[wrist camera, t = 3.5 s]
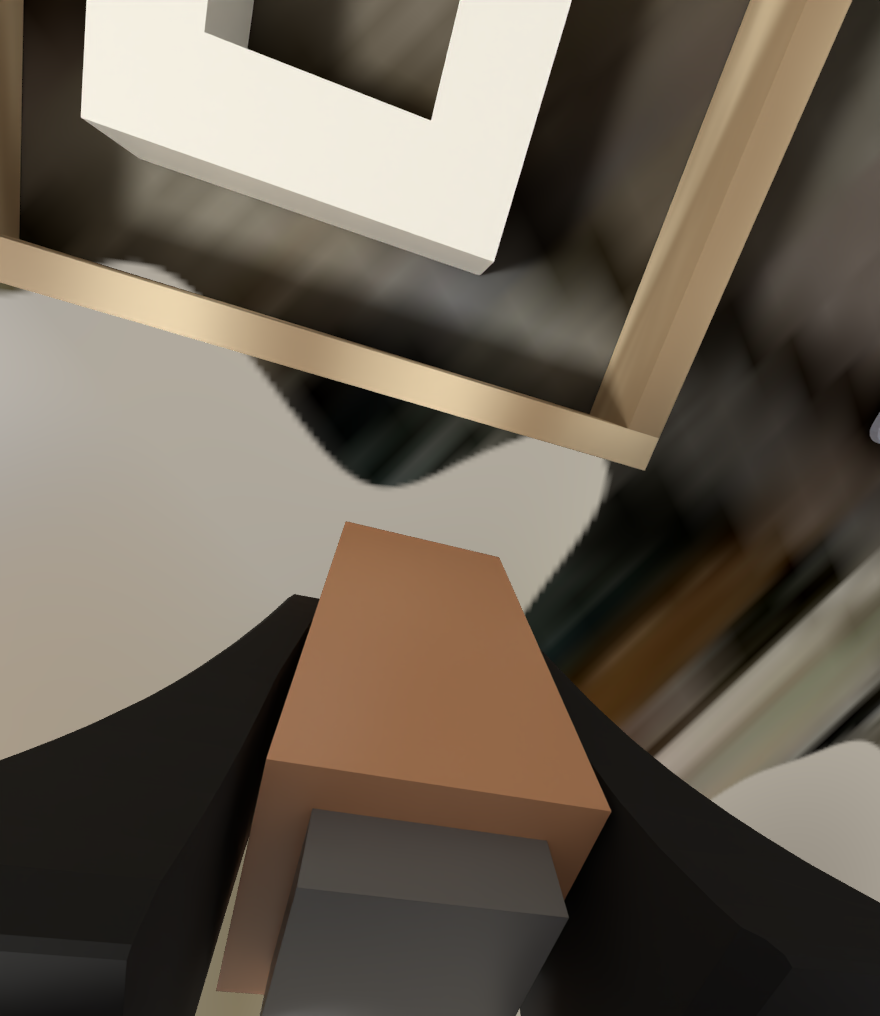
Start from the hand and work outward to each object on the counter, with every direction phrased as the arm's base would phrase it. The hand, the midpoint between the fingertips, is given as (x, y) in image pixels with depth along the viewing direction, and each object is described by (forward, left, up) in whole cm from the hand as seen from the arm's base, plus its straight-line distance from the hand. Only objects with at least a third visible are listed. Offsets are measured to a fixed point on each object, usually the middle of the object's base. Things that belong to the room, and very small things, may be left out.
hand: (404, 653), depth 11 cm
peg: (0, 0, -2) cm, 2 cm away
